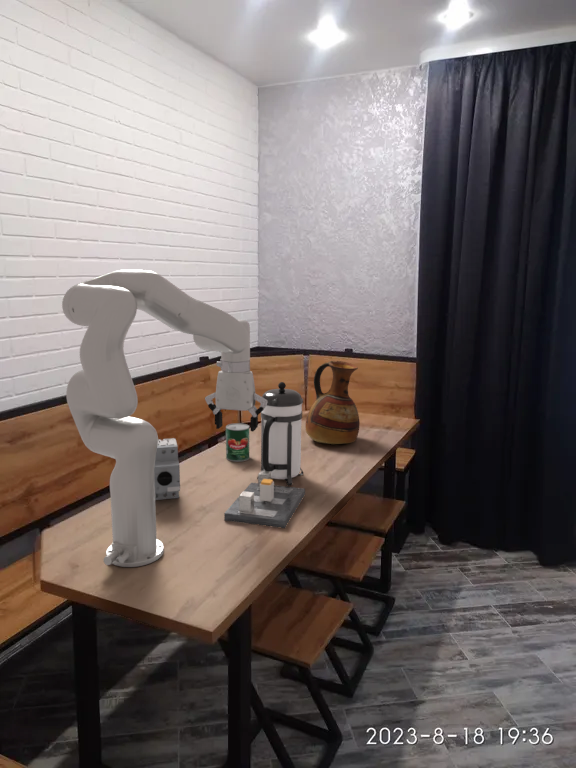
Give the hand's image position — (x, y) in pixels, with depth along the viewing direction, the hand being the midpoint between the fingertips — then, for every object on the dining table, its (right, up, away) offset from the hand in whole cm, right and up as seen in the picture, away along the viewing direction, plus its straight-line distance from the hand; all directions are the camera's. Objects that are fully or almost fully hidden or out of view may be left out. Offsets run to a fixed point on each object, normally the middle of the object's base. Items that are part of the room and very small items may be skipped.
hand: (236, 428), depth 159 cm
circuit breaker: (-20, -20, +5) cm, 29 cm away
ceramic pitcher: (+30, -9, +59) cm, 67 cm away
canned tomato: (-3, -13, +39) cm, 41 cm away
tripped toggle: (+8, -19, -1) cm, 21 cm away
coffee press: (+12, -17, +20) cm, 29 cm away
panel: (+8, -21, -1) cm, 23 cm away
